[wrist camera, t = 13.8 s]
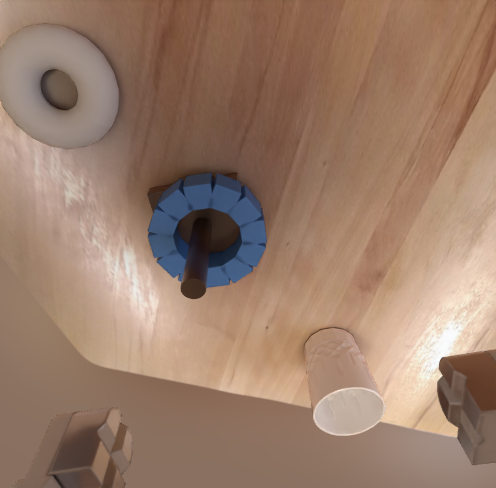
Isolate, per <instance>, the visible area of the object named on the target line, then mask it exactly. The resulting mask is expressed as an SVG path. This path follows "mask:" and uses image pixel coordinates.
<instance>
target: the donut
mask: <svg viewBox="0 0 496 488" xmlns="http://www.w3.org/2000/svg"><path fill="white" fill-rule="evenodd" d="M52 69H57V70H60V71H62V72H64V73H66V74H67V75H68V76H69V77H70V78H72V80H73V82H74V83H75V85H76V87H77V91H78V100H77V103H76V105H75V106H74V107H73V108H71V109H69V110H60V109H57V108H55V107H53V106H52V105H51V104H49V103H48V102H47V101H46V99H45V98H44V96H43V94H42V91H41V87H40V81H41V78H42V75H43V74H44V73H45V72H46V71H48V70H52ZM0 100H1V102H2V105H3V107H4V109H5V111H6V112H7V113H8V115H9V116H10V117H11V119H12V120H13V121H14V123H15V124H16V125H17V126H18V127H19V128H21V129H22V130H23V131H24V132H26V133H27V134H28V135H29V136H31V137H32V138H34V139H36V140H38V141H40V142H42V143H44V144H46V145H49V146H52V147H58V148H64V149H73V148H80V147H86V146H88V145H90V144H92V143H94V142H96V141H98V140H100V139H101V138H102V137H103V136H104V135H105V134H106V133H107V132H108V131H109V129H110V128H111V127H112V125H113V123H114V120H115V117H116V115H117V112H118V109H119V89H118V85H117V82H116V78H115V74H114V71H113V70H112V68H111V66H110V65H109V63H108V61H107V59H106V58H105V56H104V54H103V53H102V52H101V51H100V50H99V49H98V48H97V47H96V46H95V45H94V44H93V43H92V42H91V41H90V40H89V39H87V38H86V37H84V36H82V35H80V34H78V33H76V32H75V31H73V30H71V29H69V28H67V27H63V26H58V25H53V24H48V23H43V24H37V25H30V26H26V27H24V28H22V29H21V30H19V31H17V32H16V33H14V34H12V35H11V36H9V37H8V39H7V40H6V41H5V43H4V44H3V46H2V47H1V49H0Z"/></svg>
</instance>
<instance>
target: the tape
mask: <svg viewBox="0 0 496 488" xmlns="http://www.w3.org/2000/svg"><path fill="white" fill-rule="evenodd" d="M206 208H213V209H215V210H218V211H221V212H224V213H227V214H229V216H230V217H231V218H232V219H233V220H234V221H235V222H236V223H237V225H238V226H239V227H240V233H239V235H238V238H237V240H236V242H235V243H234V244H233V245H231V246H230V247H228V248H227V249H225V250H224V251H222V252H215V253H210V254H209V265H208V275H207V285H206V288H208V287H216V286H223V285H229V284H230V279H231V280H232V282H233V283H235V282H237V281H238V280H240V279H241V278H243V277H244V276H246V275H247V274H249V273H250V272H252V271H253V266H254V267H257V265H258V262H259V260H260V258H261V256H262V254H263V252H264V250H265V248H266V244H265V243H267V239H266V231H265V223H264V217H263V211H262V208H261V207H260V203H259V201H258V200H257V199H256V198H255V196H254V195H253V194H252V193H251V192H250V190H249V189H248V188H247V187H246V186H245V185H244V186H243V187H241V182H239V181H237V180H234V179H231V178H229V177H226V176H223V175H221V174H218V173H217V174H216V176H215V179H214V181H213V177H212V173H204V174H197V175H190V176H186V179H185V181H184V180H183V179H182V178H181V179H179V180H178V181H177V182H176V183H174V184H173V185H172V186H171V187H169V188H168V189H167V190H166V191H164V192H163V194H162V196H161V197H160V198H159V200H158V203H157V205H156V207H155V210H154V213H153V216H152V219H151V222H150V225H149V228H148V231H149V234H148V239H149V242H150V245H151V249H152V252H153V256H154V258H157V257H158V259H157V263H158V264H159V265H160V266H162V267H163V268H164V269H165V270H166V271H167V272H168V273H169V274H170V275H171V276H172V277H173V278H175V277H176V276H177V275H179V278H178V281H181V282H182V277H183V272H184V267H185V262H186V257H187V252H188V247H189V245H188V244H187V243H186V242H185V241H184V240H183V239H182V238H181V237H180V233H179V229H178V225H177V224H178V221H179V220H180V219H182V218H183V217H184V216H186V215H187V214H188V213H190V212H191V211H192V210H199V209H206Z"/></svg>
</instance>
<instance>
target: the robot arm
mask: <svg viewBox="0 0 496 488" xmlns="http://www.w3.org/2000/svg"><path fill="white" fill-rule="evenodd" d="M439 370H440V372H441V373H442V375H443V376H442V377H441V378H440V379H439V380H438V382H437V393H438V398H439V402H440V405H441V408H442V410H443V412H444V414H445V416H446V418H447V420H448V421H449V422H450V423H452V424H453V425H455V426H456V427H458V428H459V429H458V437H457V438H458V440H459V442H460V444H461V445H462V447H463V449H464V451H465V453H466V454H467V456H468V458H469V460H470V462H471V464H472V465H478V464H488V463H496V349H495V350H488V351H484V352H483V351H479V352H473V353H467V354H461V355H455V356H449V357H442V358H441V360H440V362H439ZM121 417H122V415H121V413H120V411H119V410H118V408H117V407H112V408H103V409H95V410H87V411H78V412H72V413H64V414H58V415H56V416H55V417H54V418H53V419H52V420H51V423H50V425H49V427H48V429H47V431H46V434H45V435H44V438H43V440H42V442H41V444H40V446H39V448H38V451H37V453H36V455H35V457H34V459H33V461H32V464H31V466H30V468H29V470H28V472H27V474H26V477H25V479H22V480H18V481H17V482H16V483H15V484H14V485H13V486H12V487H11V488H125V482H124V479H123V477H122V474H123V473H124V472H125V471H126V470H127V468H128V467H129V466H130V462H131V458H132V444H133V441H132V437H131V433H130V431H129V428H128V427H127V426H126V425H124V424H122V423H120V421H121Z"/></svg>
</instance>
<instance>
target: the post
mask: <svg viewBox="0 0 496 488" xmlns="http://www.w3.org/2000/svg"><path fill="white" fill-rule="evenodd" d="M223 176H226V177H229V178H231V179H234V180H237V181H239V179H238V174H237V173H233V174H227V175H223ZM214 179H215V177H213V181H214ZM172 185H173V184H171V185H166V186H160V187H154V188H150V189H149V191H148V193H147V194H148V197H149V201H150V204H151V207H152V210H153V213H154V210H155V207H156V205H157V203H158V200H159V198H160V197H161V196H162V194H163V192H164V191H166V190H167V189H168V188H169V187H171V186H172ZM177 225H178V229H179V233H180V237H181V238H182V239H183V240H184V241H185V242H186V243H187V244H188V245H189V247H188V252H187V257H186V262H185V267H184V272H183V277H182V282H181V292H182V294H183V295H184V296H186V297H187V298H190V299H197V298H200V297H202V296H203V295H204V294H205V292H206V285H207V275H208V265H209V254H210V253H215V252H222V251H224V250H225V249H227V248H228V247H230V246H231V245H233V244H234V243H235V242H236V240H237V238H238V235H239V233H240V227H239V226H238V225H237V223H236V222H235V221H234V220H233V219H232V218H231V217H230V216H229V214H227V213H224V212H221V211H218V210H215V209H213V208H206V209H199V210H192V211H191V212H190V213H188V214H187V215H186V216H184V217H183V218H182V219H180V220H179V221H178V224H177Z"/></svg>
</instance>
